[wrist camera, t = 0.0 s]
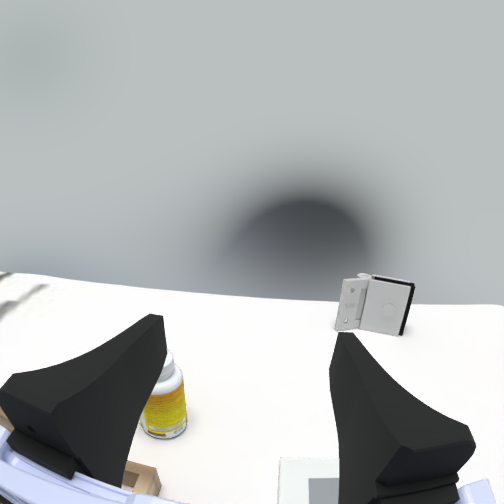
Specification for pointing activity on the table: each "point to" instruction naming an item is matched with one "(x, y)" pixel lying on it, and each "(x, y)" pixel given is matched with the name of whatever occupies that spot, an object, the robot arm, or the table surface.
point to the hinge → (374, 304)
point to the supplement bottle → (166, 403)
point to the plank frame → (134, 473)
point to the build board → (308, 481)
